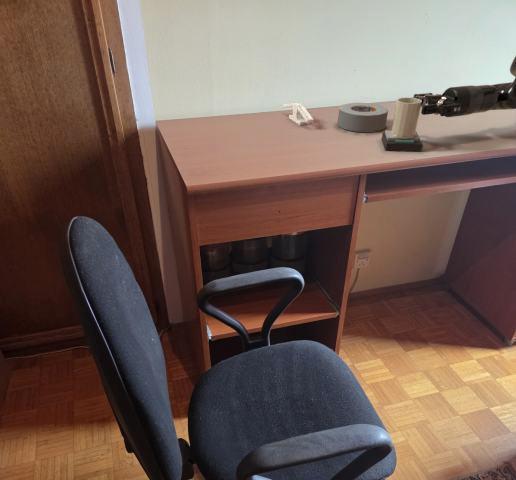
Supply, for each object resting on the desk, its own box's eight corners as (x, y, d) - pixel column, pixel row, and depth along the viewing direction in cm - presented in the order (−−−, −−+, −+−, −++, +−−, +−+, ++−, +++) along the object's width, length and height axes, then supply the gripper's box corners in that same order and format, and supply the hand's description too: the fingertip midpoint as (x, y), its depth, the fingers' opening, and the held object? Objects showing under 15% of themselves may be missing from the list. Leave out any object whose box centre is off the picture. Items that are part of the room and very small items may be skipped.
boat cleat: (293, 112, 157) (294, 95, 154) (318, 128, 143) (319, 109, 140) (282, 113, 156) (283, 96, 153) (306, 129, 142) (308, 110, 139)
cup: (412, 132, 131) (419, 97, 125) (416, 139, 126) (423, 103, 120) (389, 131, 131) (395, 97, 125) (392, 138, 126) (398, 103, 120)
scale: (415, 140, 134) (417, 130, 132) (421, 151, 126) (423, 141, 124) (381, 139, 134) (383, 129, 133) (385, 150, 127) (387, 140, 125)
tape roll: (381, 119, 151) (384, 102, 147) (389, 133, 139) (392, 115, 136) (335, 118, 151) (337, 102, 148) (339, 132, 140) (341, 114, 137)
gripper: (449, 81, 130) (401, 85, 126) (483, 91, 120) (432, 97, 116) (442, 109, 135) (396, 114, 131) (474, 122, 125) (425, 128, 121)
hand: (413, 106), depth 124 cm, fingers open, 8 cm apart
